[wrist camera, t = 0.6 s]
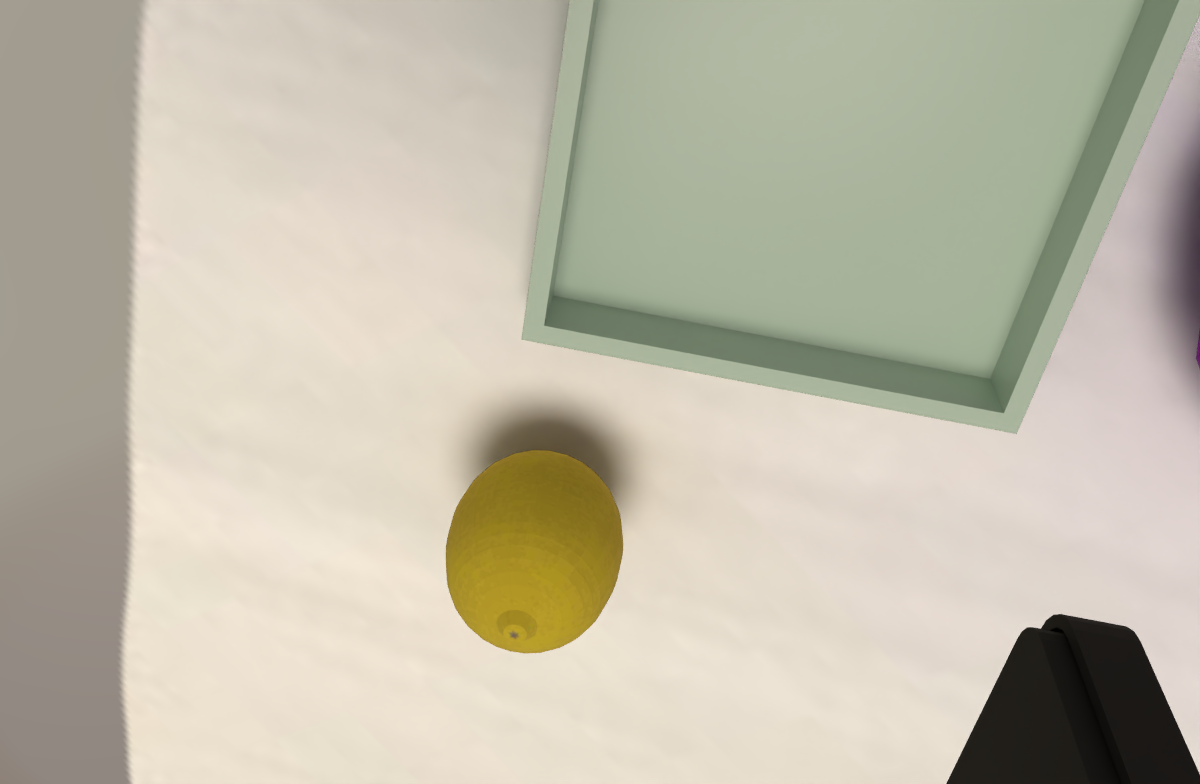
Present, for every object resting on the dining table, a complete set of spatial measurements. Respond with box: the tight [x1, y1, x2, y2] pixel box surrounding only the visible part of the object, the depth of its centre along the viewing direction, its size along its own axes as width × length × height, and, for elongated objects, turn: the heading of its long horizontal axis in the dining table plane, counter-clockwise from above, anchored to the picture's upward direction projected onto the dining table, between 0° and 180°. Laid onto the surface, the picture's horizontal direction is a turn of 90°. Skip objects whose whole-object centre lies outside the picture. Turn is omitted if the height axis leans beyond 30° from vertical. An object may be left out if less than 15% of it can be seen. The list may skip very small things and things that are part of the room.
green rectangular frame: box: [522, 0, 1200, 434], centre depth 30 cm, size 15×15×2 cm
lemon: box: [446, 450, 623, 653], centre depth 35 cm, size 6×6×8 cm
